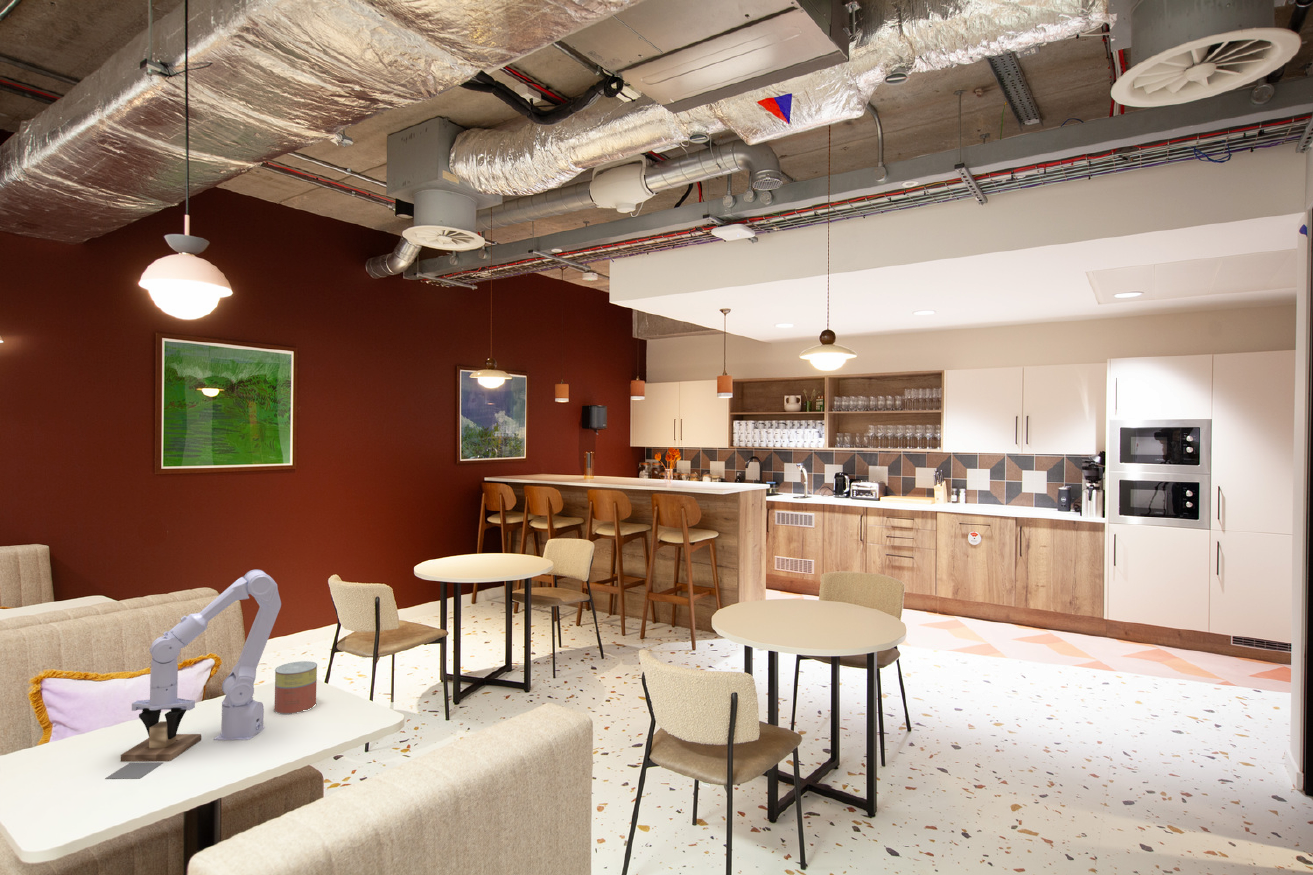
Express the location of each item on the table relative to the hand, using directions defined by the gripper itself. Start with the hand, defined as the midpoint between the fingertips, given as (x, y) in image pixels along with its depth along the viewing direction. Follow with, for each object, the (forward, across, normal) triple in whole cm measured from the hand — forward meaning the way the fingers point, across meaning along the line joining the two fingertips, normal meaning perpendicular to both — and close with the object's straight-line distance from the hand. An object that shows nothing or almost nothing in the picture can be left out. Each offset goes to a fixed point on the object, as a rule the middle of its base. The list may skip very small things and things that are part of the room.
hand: (162, 737), depth 172 cm
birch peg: (+3, 0, 0) cm, 3 cm away
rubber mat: (+4, +1, -11) cm, 12 cm away
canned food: (+4, +19, +30) cm, 36 cm away
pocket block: (+4, 0, 0) cm, 4 cm away
